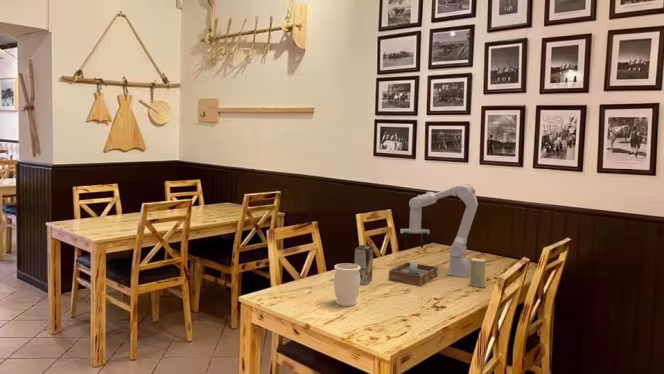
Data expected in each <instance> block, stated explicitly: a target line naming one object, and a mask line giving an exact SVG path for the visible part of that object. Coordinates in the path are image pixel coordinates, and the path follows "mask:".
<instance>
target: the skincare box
mask: <svg viewBox="0 0 664 374" xmlns="http://www.w3.org/2000/svg"><path fill="white" fill-rule="evenodd" d="M485 282H486V259H484V258H474V257H472V258H471V259H470V274H469V286H470V287H475V288H484V287H485V284H486V283H485Z"/></svg>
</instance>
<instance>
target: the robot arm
mask: <svg viewBox="0 0 664 374" xmlns="http://www.w3.org/2000/svg"><path fill="white" fill-rule="evenodd" d="M448 196H454V197H458V198H459V199H460V200H462V201H463V203H464V204H465V209H464V213H463V214H462V215H463V216H462V219H461V222H460V224H459V225H460V226H459V228H458V231H457V234H456V237H455V239H454V240H453V243H452V245H450V246H449V249H448V251H449V268H448V269H449V270H448V271H447V272H446V273H445V274H446V275H448V276H454V277H458V278H459V277H461V278H466V277H468V276H470V260H471V259H470V258H468V257H466V254H465V253H466V251H467V242H468V241H467V240H468V236H469V232H470V230H471V227H472V224H473V220H474V218H475V215H476V212H477V208H478V206H479V202H478V199H477V195H476V190H475V188H474V187H473V186H472V185H471V184H469V183H465V184H463V185H456V186H451V187H449V188H446V189H443V190H441V191H438V192H433V191H426V192H425V194H418V195H417V196H416V197H412V198H411V199H410V200H409V202H408V204H409V205H408V206H409V208H410V210H409V228H400V232H399V233H400V234H401V235H402V237H403V240H404V244H405V248H406V249H408V248H409V234H420V248H421V249H424V244H425V242H426V240H427V238H428V236H429V235H430V232H431V231H430V229H428V228H427V229H425V228H422V213H423V212H422V211H423V210H422V208H423V207H427V206H430V205H433V204H435V203H437V201H438V200H439V199H443V198H445V197H448Z"/></svg>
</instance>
